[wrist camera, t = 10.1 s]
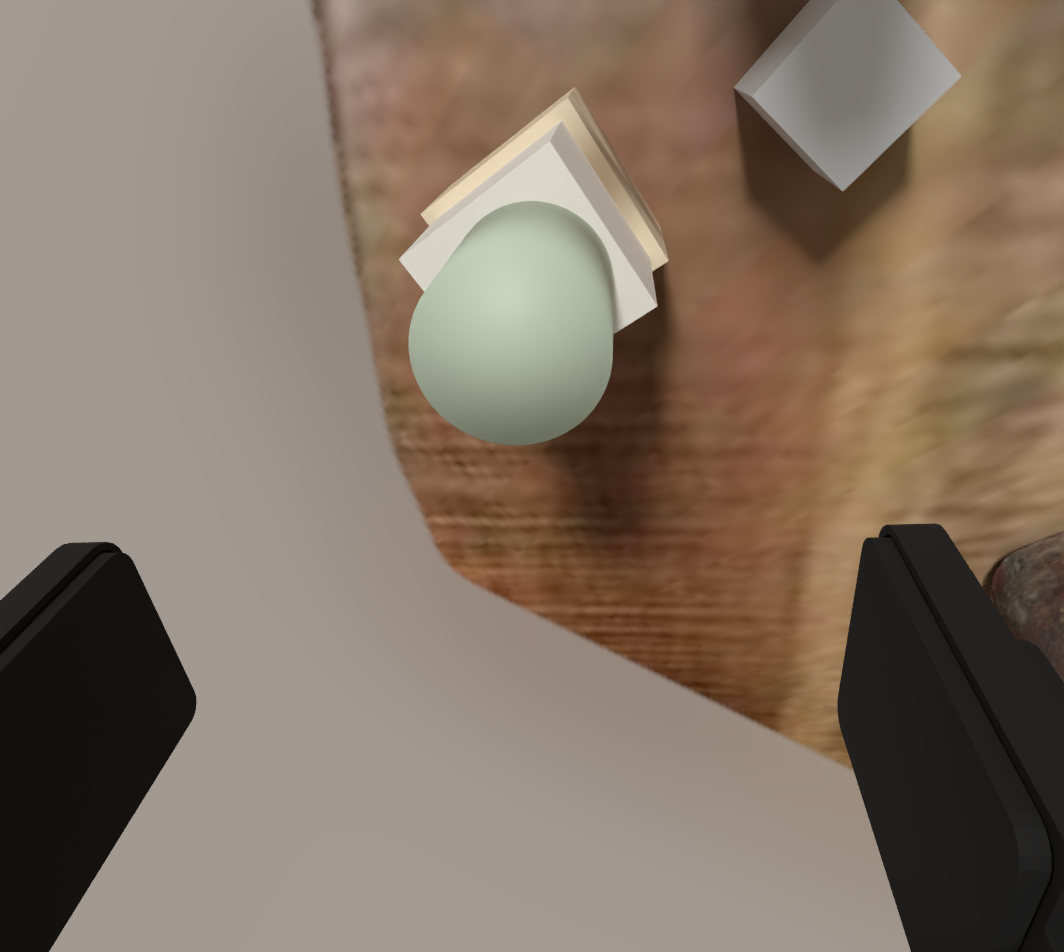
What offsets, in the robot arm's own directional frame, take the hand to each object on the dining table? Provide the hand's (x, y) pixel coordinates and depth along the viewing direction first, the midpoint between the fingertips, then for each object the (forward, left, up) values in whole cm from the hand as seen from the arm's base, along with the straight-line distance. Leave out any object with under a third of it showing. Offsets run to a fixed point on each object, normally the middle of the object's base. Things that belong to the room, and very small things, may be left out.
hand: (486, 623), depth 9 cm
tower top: (0, +1, -22) cm, 22 cm away
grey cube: (-2, -11, -28) cm, 30 cm away
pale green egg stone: (0, +1, -16) cm, 16 cm away
